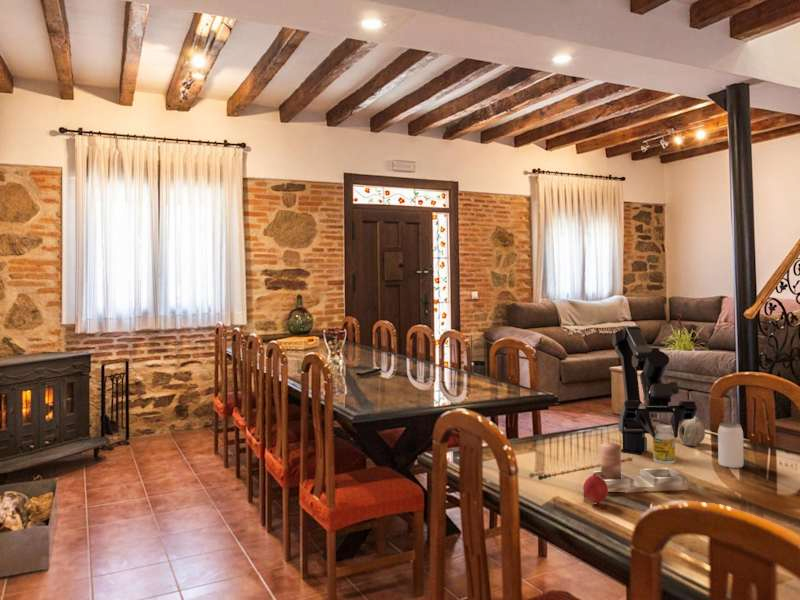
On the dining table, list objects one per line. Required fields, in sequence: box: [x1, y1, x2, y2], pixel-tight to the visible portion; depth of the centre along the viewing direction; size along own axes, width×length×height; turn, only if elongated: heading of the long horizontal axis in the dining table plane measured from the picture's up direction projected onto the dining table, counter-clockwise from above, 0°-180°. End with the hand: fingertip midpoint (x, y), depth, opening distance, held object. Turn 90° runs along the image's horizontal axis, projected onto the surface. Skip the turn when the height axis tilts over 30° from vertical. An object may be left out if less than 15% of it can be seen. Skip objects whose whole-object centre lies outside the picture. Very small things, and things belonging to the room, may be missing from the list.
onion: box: [582, 473, 609, 504], centre depth 151 cm, size 6×6×8 cm
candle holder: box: [589, 442, 689, 493], centre depth 163 cm, size 24×9×11 cm, turn 93°
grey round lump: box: [678, 416, 706, 447], centre depth 203 cm, size 9×8×10 cm
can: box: [717, 422, 744, 469], centre depth 179 cm, size 6×6×12 cm
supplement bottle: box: [652, 423, 676, 464], centre depth 164 cm, size 5×5×10 cm
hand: (665, 437), depth 162 cm, fingers closed on supplement bottle, 5 cm apart
